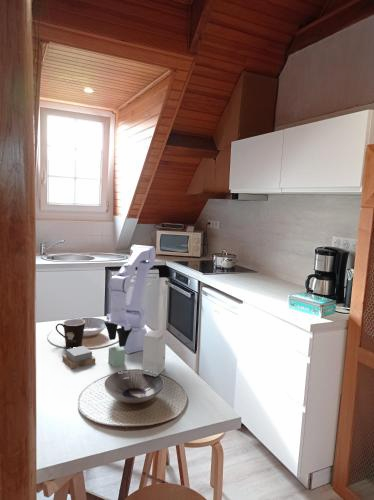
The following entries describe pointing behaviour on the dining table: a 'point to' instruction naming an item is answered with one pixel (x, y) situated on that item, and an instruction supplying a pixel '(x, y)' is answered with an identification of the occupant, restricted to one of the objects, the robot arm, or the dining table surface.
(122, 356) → the green column
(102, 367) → the dining table surface
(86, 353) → the grey square slab
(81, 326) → the coffee mug
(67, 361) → the tan square slab
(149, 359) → the skincare box
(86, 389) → the dining table surface
